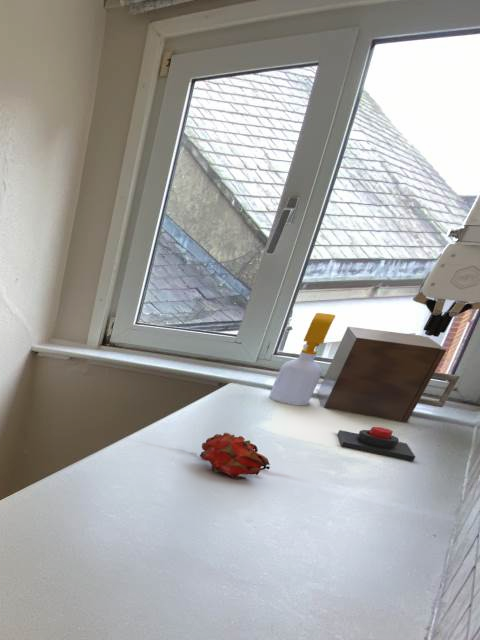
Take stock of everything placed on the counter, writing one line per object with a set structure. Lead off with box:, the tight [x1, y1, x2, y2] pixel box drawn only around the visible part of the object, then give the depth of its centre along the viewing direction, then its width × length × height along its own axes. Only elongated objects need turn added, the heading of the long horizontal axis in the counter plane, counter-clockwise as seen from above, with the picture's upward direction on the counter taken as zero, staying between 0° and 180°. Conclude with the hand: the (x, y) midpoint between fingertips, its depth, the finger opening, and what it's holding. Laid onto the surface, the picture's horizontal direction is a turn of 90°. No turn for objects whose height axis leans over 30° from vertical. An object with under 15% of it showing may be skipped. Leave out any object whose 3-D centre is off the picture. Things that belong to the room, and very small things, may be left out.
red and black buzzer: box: [336, 429, 416, 463], centre depth 123 cm, size 12×10×4 cm
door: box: [401, 336, 461, 424], centre depth 144 cm, size 6×22×20 cm, turn 144°
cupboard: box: [316, 326, 441, 423], centre depth 150 cm, size 16×22×20 cm
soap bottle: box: [268, 312, 336, 406], centre depth 149 cm, size 9×9×25 cm
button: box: [369, 426, 394, 439], centre depth 122 cm, size 4×4×2 cm
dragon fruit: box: [199, 432, 271, 481], centre depth 107 cm, size 8×8×12 cm
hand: (431, 335), depth 112 cm, fingers closed
